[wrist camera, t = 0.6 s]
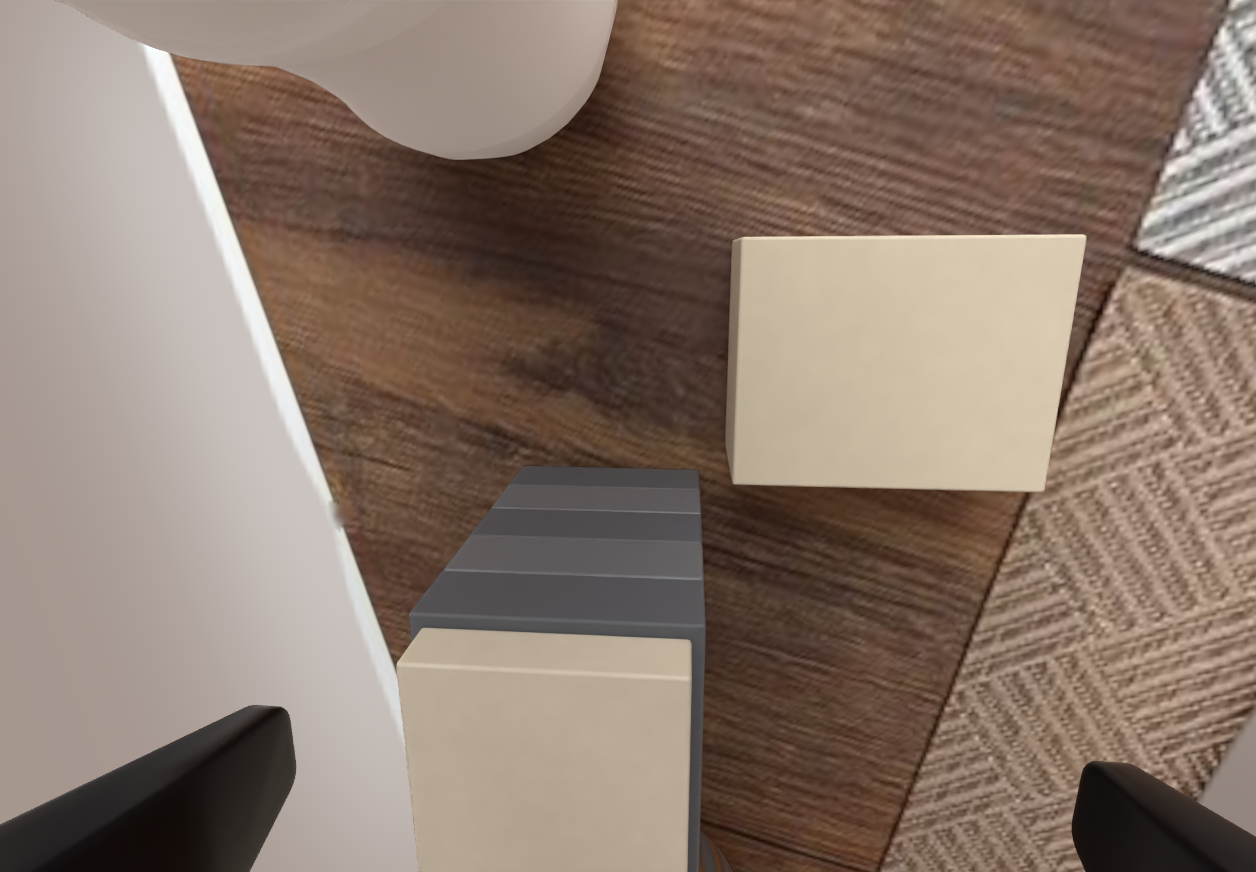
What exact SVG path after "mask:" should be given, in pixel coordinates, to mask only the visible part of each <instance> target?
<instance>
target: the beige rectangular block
mask: <svg viewBox="0 0 1256 872" xmlns="http://www.w3.org/2000/svg"><path fill="white" fill-rule="evenodd" d="M1085 244H1086V236H1085V235H1083V234H1078V235H938V236H799V237H743V238H739V239H736V240H733V242H732V258H731V288H730V317H729V346H728V375H727V405H726V434H725V446H726V452H727V457H728V463H729V468H730V474H731V479H732V483H733V484H734V485H762V486H803V487H844V488H885V489H926V490H966V491H1007V492H1044V490H1045V484H1046V478H1047V472H1048V466H1049V460H1050V454H1051V448H1052V442H1053V436H1054V430H1055V424H1056V418H1057V412H1058V406H1059V400H1060V394H1061V388H1062V382H1063V376H1064V370H1065V364H1066V358H1067V352H1068V346H1069V340H1070V334H1071V328H1072V322H1073V316H1074V310H1075V304H1076V298H1077V292H1078V286H1079V280H1080V274H1081V268H1082V262H1083V256H1084V250H1085Z"/></svg>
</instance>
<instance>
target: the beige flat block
mask: <svg viewBox="0 0 1256 872" xmlns="http://www.w3.org/2000/svg"><path fill="white" fill-rule="evenodd" d="M397 676H398V685H399V694H400V703H401V712H402V722H403V731H404V740H405V749H406V758H407V767H408V776H409V785H410V795H411V804H412V813H413V822H414V831H415V840H416V849H417V859H418V868H419V872H687V866H688V822H689V778H690V735H691V691H692V644H691V641H690V640H688V639H669V638H646V637H624V636H602V635H579V634H557V633H534V632H512V631H489V630H467V629H444V628H422V629H421V630H420V631H419V633H418V634H417V636H416V637H415V638H414V640H413V641H412V643H411V644H410V645H409V647H408V648H407V650H406V651H405V652H404V654H403V655H402V657H401V658H400V659H399V661H398V662H397Z"/></svg>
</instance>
